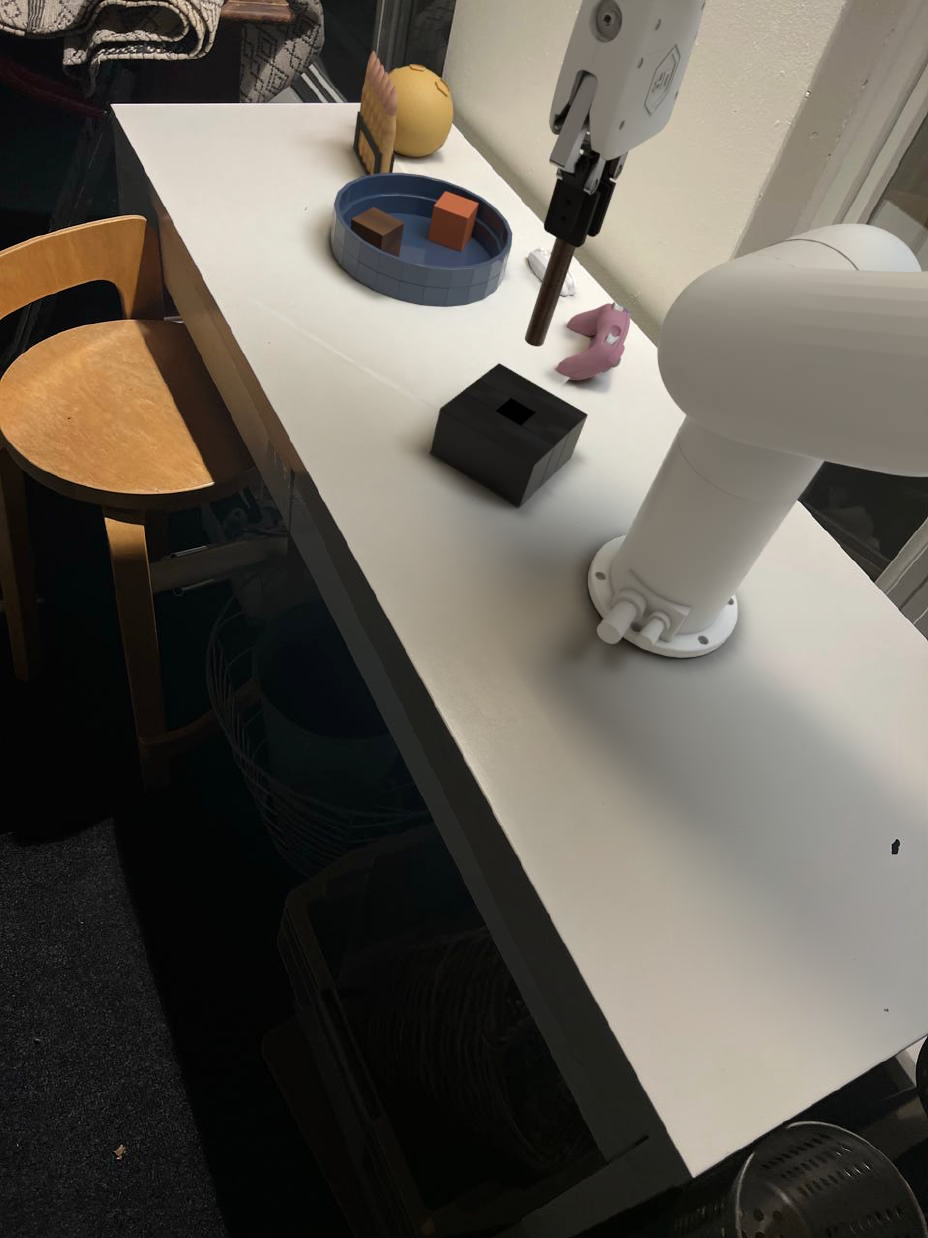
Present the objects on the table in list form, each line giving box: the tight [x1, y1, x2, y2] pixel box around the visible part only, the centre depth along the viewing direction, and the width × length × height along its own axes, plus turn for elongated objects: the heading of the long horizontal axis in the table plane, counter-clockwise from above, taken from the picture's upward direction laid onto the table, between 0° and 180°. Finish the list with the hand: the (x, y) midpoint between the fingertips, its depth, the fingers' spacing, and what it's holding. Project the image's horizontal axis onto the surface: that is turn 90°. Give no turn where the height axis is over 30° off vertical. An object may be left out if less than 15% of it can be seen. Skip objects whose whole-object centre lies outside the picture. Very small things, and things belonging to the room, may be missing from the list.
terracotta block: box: [428, 191, 479, 252], centre depth 101 cm, size 4×4×4 cm
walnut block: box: [350, 207, 404, 257], centre depth 95 cm, size 4×4×4 cm
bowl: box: [330, 172, 513, 307], centre depth 97 cm, size 19×19×5 cm
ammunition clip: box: [352, 50, 397, 176], centre depth 105 cm, size 11×2×12 cm, turn 19°
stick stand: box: [429, 362, 589, 509], centre depth 80 cm, size 10×10×5 cm
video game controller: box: [556, 301, 631, 381], centre depth 92 cm, size 10×5×7 cm, turn 168°
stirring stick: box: [524, 150, 593, 348], centre depth 67 cm, size 2×2×15 cm
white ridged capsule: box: [527, 246, 579, 297], centre depth 101 cm, size 3×8×3 cm, turn 29°
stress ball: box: [387, 63, 454, 158], centre depth 111 cm, size 10×10×10 cm
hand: (571, 231), depth 66 cm, fingers closed on stirring stick, 1 cm apart
